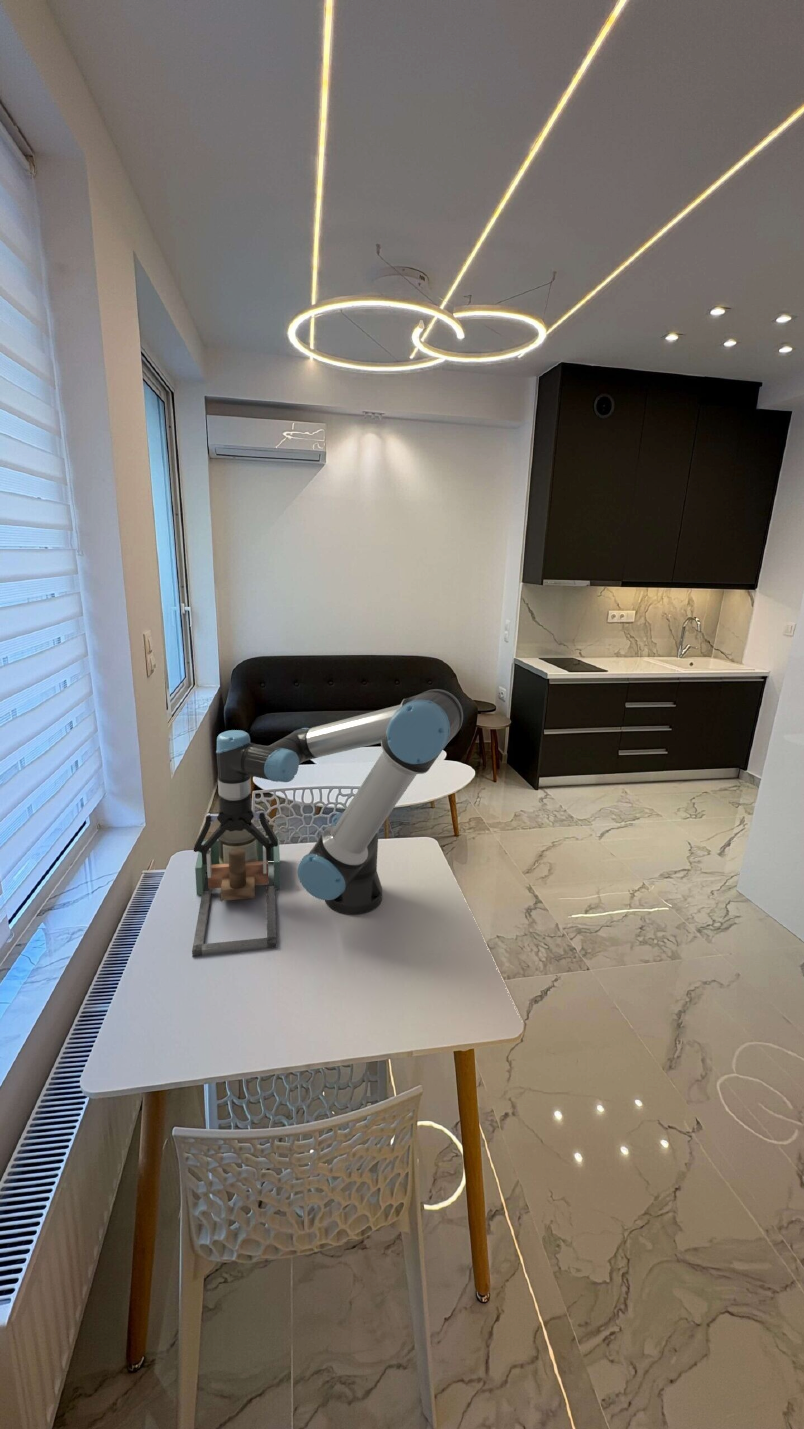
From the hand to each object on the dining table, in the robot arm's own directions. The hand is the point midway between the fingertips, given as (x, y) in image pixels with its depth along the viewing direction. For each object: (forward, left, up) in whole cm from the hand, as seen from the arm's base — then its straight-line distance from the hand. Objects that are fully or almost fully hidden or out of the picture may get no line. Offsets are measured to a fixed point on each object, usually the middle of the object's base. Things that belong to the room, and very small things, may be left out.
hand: (237, 873), depth 147 cm
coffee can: (0, -10, -8) cm, 13 cm away
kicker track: (0, +8, -8) cm, 12 cm away
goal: (0, -11, -8) cm, 14 cm away
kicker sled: (0, -1, -6) cm, 6 cm away
